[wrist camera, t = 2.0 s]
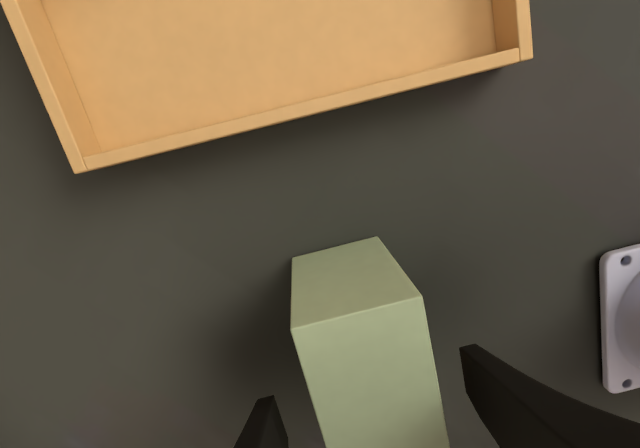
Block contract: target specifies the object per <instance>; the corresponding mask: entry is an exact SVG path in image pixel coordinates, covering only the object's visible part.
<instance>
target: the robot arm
mask: <svg viewBox="0 0 640 448" xmlns="http://www.w3.org/2000/svg"><path fill="white" fill-rule="evenodd" d="M623 257H624V259H623V260H622V262H621V259H622V258H623ZM599 277H600V309H601V340H602V372H603V386H604V387H605V388H606V389H607V390H608V391H609V392H610V393H620V392H624V391H628V390H632V389H636V388H640V244H636V245H632V246H628V247H624V248H620V249H616V250H612V251H609V252H606V253H605V254H604V255H602V257H601V258H600V261H599ZM459 350H460V356H461V363H462V369H463V375H464V382H465V388H466V393H467V395H468V396H469V398H470V400H471V402H472V404H473V406H474V408H475V410H476V412H477V413H478V415H479V417H480V419H481V420H482V422H483V423H484V425H485V426H486V428H487V429H488V430H489V432H490V433H491V435H492V436H493V438H494V439H495V441H496V442H497V444H498V445H499V446H500V448H640V423H637V422H634V421H631V420H628V419H625V418H622V417H619V416H616V415H613V414H611V413H608V412H605V411H602V410H600V409H597V408H594V407H592V406H589V405H587V404H585V403H582V402H580V401H578V400H575V399H573V398H571V397H569V396H566V395H564V394H562V393H560V392H558V391H556V390H554V389H552V388H550V387H548V386H546V385H544V384H542V383H540V382H538V381H536V380H534V379H532V378H531V377H529V376H527V375H525V374H524V373H522V372H520V371H518V370H517V369H515V368H513V367H512V366H510V365H508V364H507V363H505V362H503V361H502V360H500V359H499V358H497V357H495V356H494V355H492V354H491V353H489V352H487V351H486V350H484V349H483V348H481V347H479V346H478V345H476V344H471V345H468V346H464V347H460V348H459ZM234 448H288V437H287V434H286V431H285V428H284V425H283V422H282V419H281V416H280V413H279V410H278V407H277V404H276V401H275V398H274V395H272V396H269V397H265V398H261V399H258V400H257V402H256V403H255V405H254V407H253V410H252V412H251V414H250V416H249V418H248V420H247V422H246V424H245V426H244V428H243V430H242V432H241V434H240V436H239V438H238V440H237V442H236V444H235V446H234Z"/></svg>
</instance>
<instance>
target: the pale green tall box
mask: <svg viewBox="0 0 640 448" xmlns="http://www.w3.org/2000/svg"><path fill="white" fill-rule="evenodd" d="M290 331H291V334H292V337H293V341H294V344H295V347H296V350H297V354H298V357H299V360H300V364H301V367H302V370H303V374H304V377H305V380H306V384H307V387H308V390H309V394H310V397H311V400H312V403H313V407H314V410H315V413H316V417H317V420H318V423H319V427H320V430H321V433H322V437H323V440H324V443H325V447H326V448H450V445H449V440H448V434H447V429H446V423H445V418H444V412H443V407H442V401H441V396H440V390H439V385H438V379H437V374H436V368H435V363H434V357H433V352H432V346H431V341H430V335H429V330H428V324H427V319H426V313H425V308H424V302H423V297H422V295H421V294H420V292H419V291H418V290H417V288H416V287H415V286H414V284H413V283H412V282H411V280H410V279H409V278H408V276H407V275H406V274H405V273H404V271H403V270H402V269H401V267H400V266H399V265H398V263H397V262H396V261H395V259H394V258H393V257H392V255H391V254H390V253H389V251H388V250H387V249H386V247H385V246H384V245H383V243H382V242H381V241H380V239H379V238H378V237H377V236H376V237H372V238H368V239H364V240H360V241H356V242H352V243H349V244H345V245H341V246H337V247H333V248H329V249H325V250H321V251H317V252H313V253H309V254H305V255H301V256H297V257H293V258H292V278H291V322H290Z"/></svg>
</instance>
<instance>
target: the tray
mask: <svg viewBox="0 0 640 448" xmlns="http://www.w3.org/2000/svg"><path fill="white" fill-rule="evenodd" d="M0 3H1V5H2V7H3V10H4V12H5V14H6V16H7V19H8V21H9V23H10V26H11V28H12V30H13V33H14V35H15V37H16V40H17V42H18V44H19V47H20V49H21V51H22V54H23V56H24V58H25V61H26V63H27V65H28V67H29V70H30V72H31V74H32V77H33V79H34V81H35V84H36V86H37V88H38V91H39V93H40V95H41V98H42V100H43V102H44V105H45V107H46V109H47V112H48V114H49V116H50V118H51V121H52V123H53V125H54V128H55V130H56V132H57V135H58V137H59V139H60V142H61V144H62V146H63V149H64V151H65V153H66V156H67V158H68V160H69V163H70V165H71V167H72V170H73V172H74V173H75V174H78V173H83V172H88V171H92V170H97V169H102V168H106V167H110V166H114V165H117V164H121V163H125V162H129V161H133V160H137V159H141V158H145V157H149V156H153V155H157V154H161V153H165V152H169V151H173V150H177V149H181V148H185V147H189V146H193V145H197V144H201V143H204V142H208V141H212V140H216V139H220V138H224V137H228V136H232V135H236V134H240V133H244V132H248V131H252V130H256V129H260V128H264V127H268V126H272V125H276V124H280V123H284V122H288V121H291V120H295V119H299V118H303V117H307V116H311V115H315V114H319V113H323V112H327V111H331V110H335V109H339V108H343V107H347V106H351V105H355V104H359V103H363V102H367V101H371V100H375V99H379V98H382V97H386V96H390V95H394V94H398V93H402V92H406V91H410V90H414V89H418V88H422V87H426V86H430V85H434V84H438V83H442V82H446V81H450V80H454V79H458V78H462V77H466V76H469V75H473V74H477V73H481V72H485V71H489V70H493V69H497V68H501V67H505V66H508V65H512V64H515V63H519V62H522V61H526V60H529V59H532V58H533V48H532V35H531V21H530V7H529V0H0Z"/></svg>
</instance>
